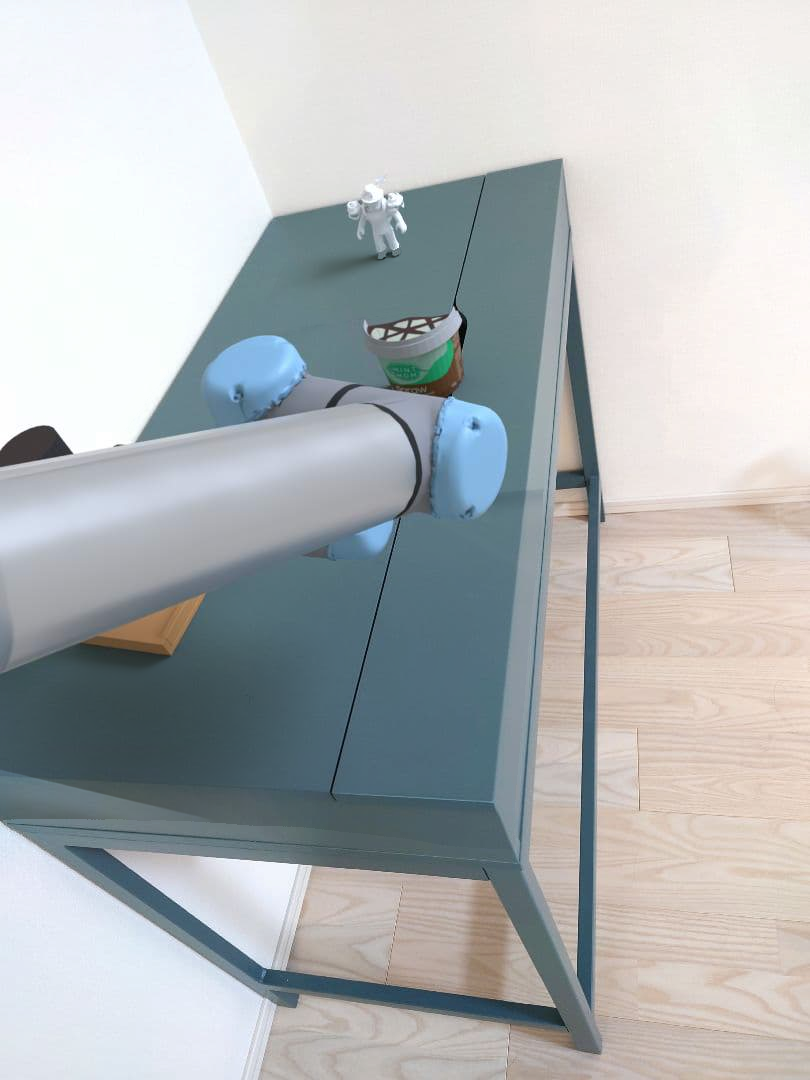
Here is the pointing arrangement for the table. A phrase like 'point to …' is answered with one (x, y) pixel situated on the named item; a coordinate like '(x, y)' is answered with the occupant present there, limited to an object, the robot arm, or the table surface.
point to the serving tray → (152, 630)
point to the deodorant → (33, 446)
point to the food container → (419, 353)
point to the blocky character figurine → (378, 214)
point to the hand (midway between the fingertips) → (31, 498)
